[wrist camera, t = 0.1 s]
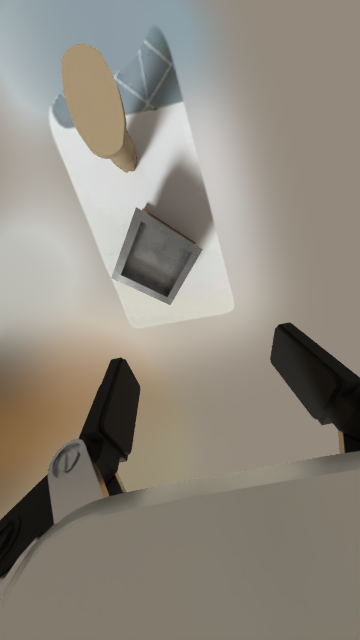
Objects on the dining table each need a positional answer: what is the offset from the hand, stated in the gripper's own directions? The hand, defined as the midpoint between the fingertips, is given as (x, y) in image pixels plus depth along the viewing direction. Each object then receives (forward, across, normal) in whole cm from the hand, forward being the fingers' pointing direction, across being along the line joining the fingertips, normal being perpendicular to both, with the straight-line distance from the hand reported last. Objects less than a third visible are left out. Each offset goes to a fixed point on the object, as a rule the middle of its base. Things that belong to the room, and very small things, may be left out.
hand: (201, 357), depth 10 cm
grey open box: (+25, +3, -2) cm, 25 cm away
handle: (+31, +4, -18) cm, 36 cm away
